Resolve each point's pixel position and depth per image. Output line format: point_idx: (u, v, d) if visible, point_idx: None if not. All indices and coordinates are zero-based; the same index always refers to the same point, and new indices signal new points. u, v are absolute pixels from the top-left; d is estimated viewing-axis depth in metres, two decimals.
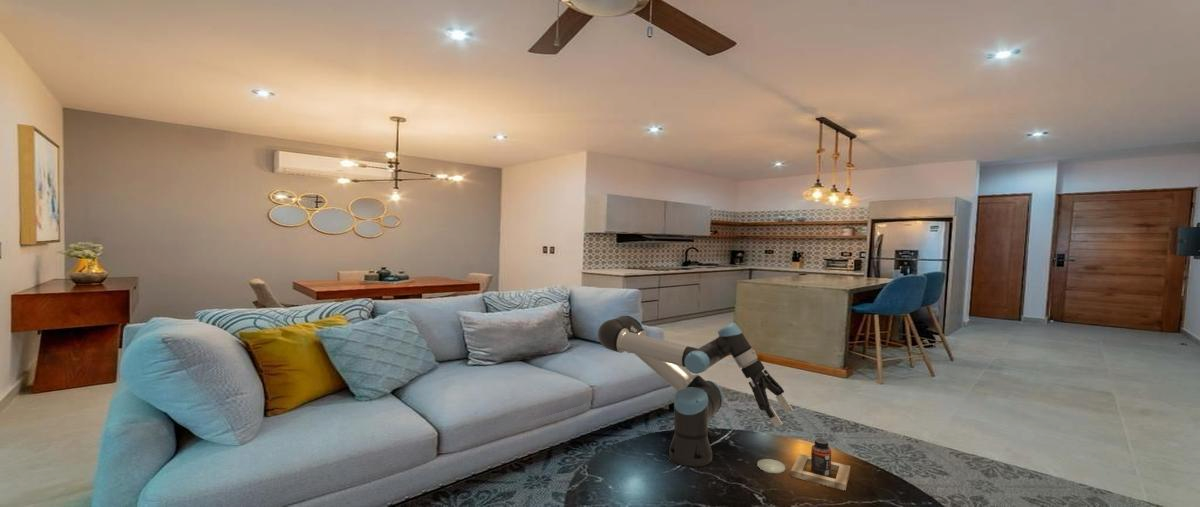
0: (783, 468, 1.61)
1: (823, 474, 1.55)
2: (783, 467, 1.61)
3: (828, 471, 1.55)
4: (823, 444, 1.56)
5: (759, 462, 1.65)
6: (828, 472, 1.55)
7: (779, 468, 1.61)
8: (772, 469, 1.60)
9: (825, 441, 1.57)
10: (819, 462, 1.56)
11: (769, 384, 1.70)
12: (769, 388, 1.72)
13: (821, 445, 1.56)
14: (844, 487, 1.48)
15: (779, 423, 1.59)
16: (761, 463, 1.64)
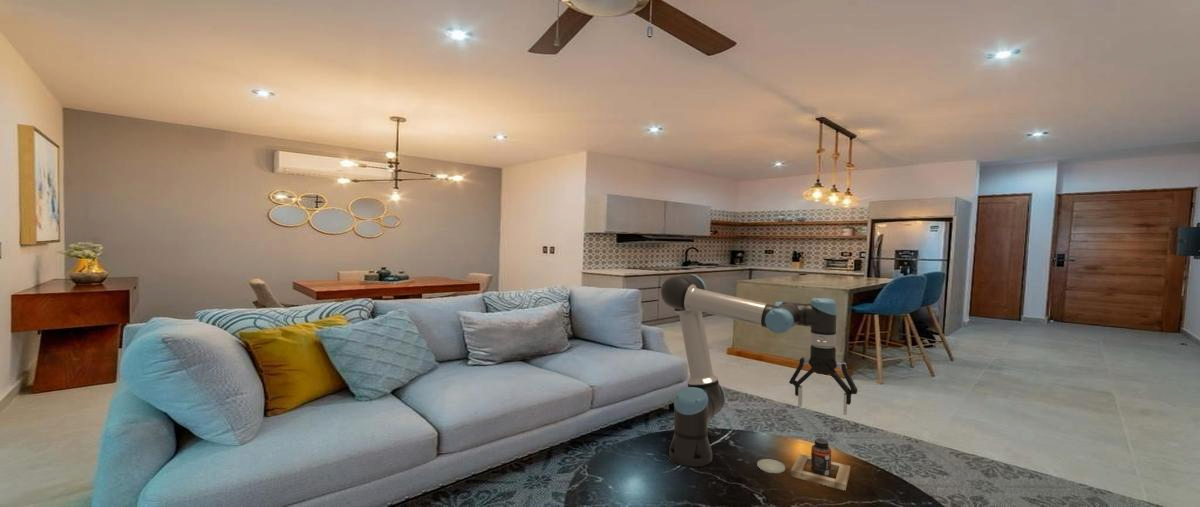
0: (783, 468, 1.61)
1: (823, 474, 1.55)
2: (783, 467, 1.61)
3: (828, 471, 1.55)
4: (823, 444, 1.56)
5: (759, 462, 1.65)
6: (828, 472, 1.55)
7: (779, 468, 1.61)
8: (772, 469, 1.60)
9: (825, 441, 1.57)
10: (819, 462, 1.56)
11: None
12: None
13: (821, 445, 1.56)
14: (844, 487, 1.48)
15: None
16: (761, 463, 1.64)
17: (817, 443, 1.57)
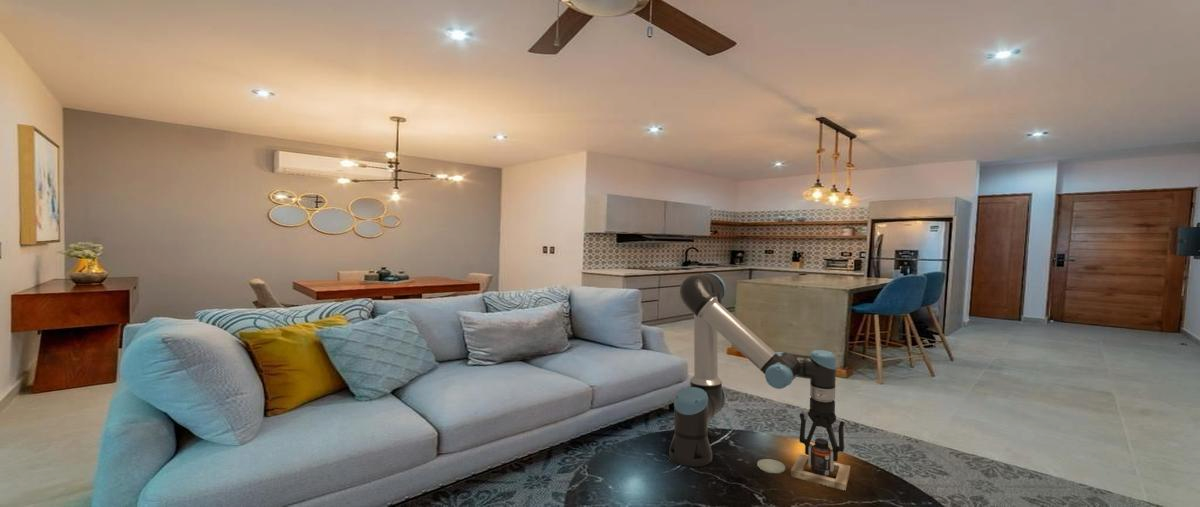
0: (783, 468, 1.61)
1: (823, 474, 1.55)
2: (783, 467, 1.61)
3: (828, 471, 1.55)
4: (823, 444, 1.56)
5: (759, 462, 1.65)
6: (828, 472, 1.55)
7: (779, 468, 1.61)
8: (772, 469, 1.60)
9: (825, 441, 1.57)
10: (819, 462, 1.56)
11: None
12: None
13: (821, 445, 1.56)
14: (844, 487, 1.48)
15: None
16: (761, 463, 1.64)
17: (817, 443, 1.57)
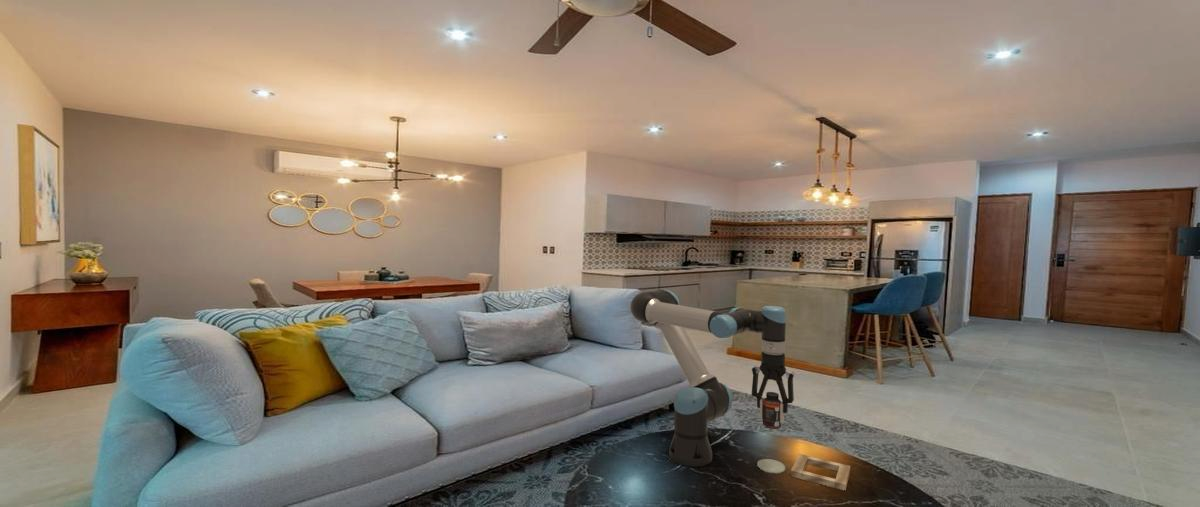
0: (783, 468, 1.61)
1: (773, 425, 1.59)
2: (783, 467, 1.61)
3: (778, 422, 1.60)
4: (773, 396, 1.60)
5: (759, 462, 1.65)
6: (778, 423, 1.60)
7: (779, 468, 1.61)
8: (772, 469, 1.60)
9: (776, 394, 1.61)
10: (769, 413, 1.60)
11: None
12: None
13: (771, 397, 1.60)
14: (844, 487, 1.48)
15: None
16: (761, 463, 1.64)
17: (768, 395, 1.61)
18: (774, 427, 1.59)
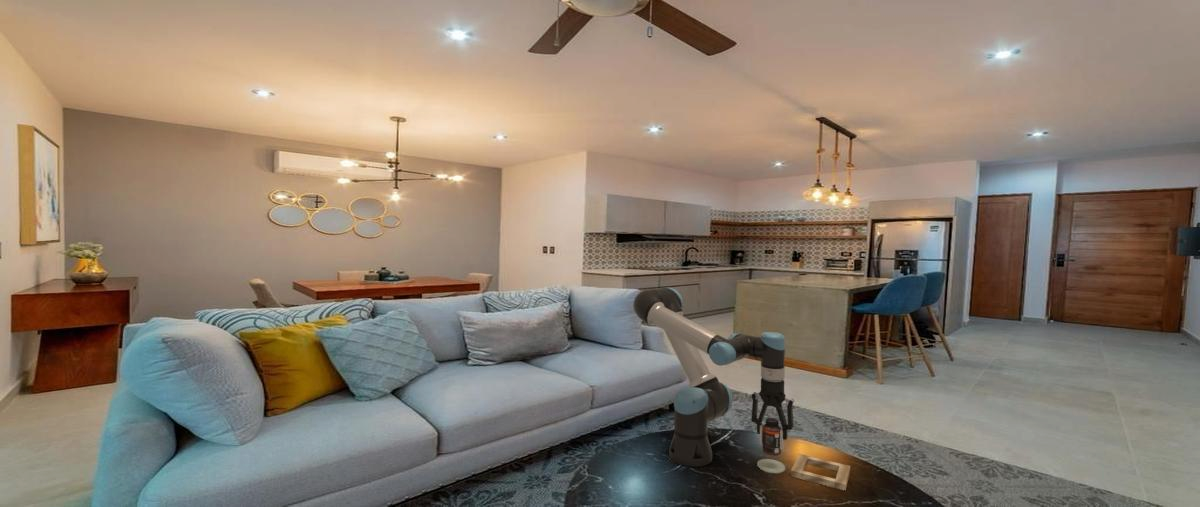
0: (783, 468, 1.61)
1: (773, 452, 1.60)
2: (783, 467, 1.61)
3: (778, 449, 1.60)
4: (773, 423, 1.60)
5: (759, 462, 1.65)
6: (778, 450, 1.60)
7: (779, 468, 1.61)
8: (772, 469, 1.60)
9: (775, 420, 1.62)
10: (769, 440, 1.60)
11: None
12: None
13: (771, 423, 1.60)
14: (844, 487, 1.48)
15: None
16: (761, 463, 1.64)
17: (768, 422, 1.61)
18: (774, 454, 1.60)
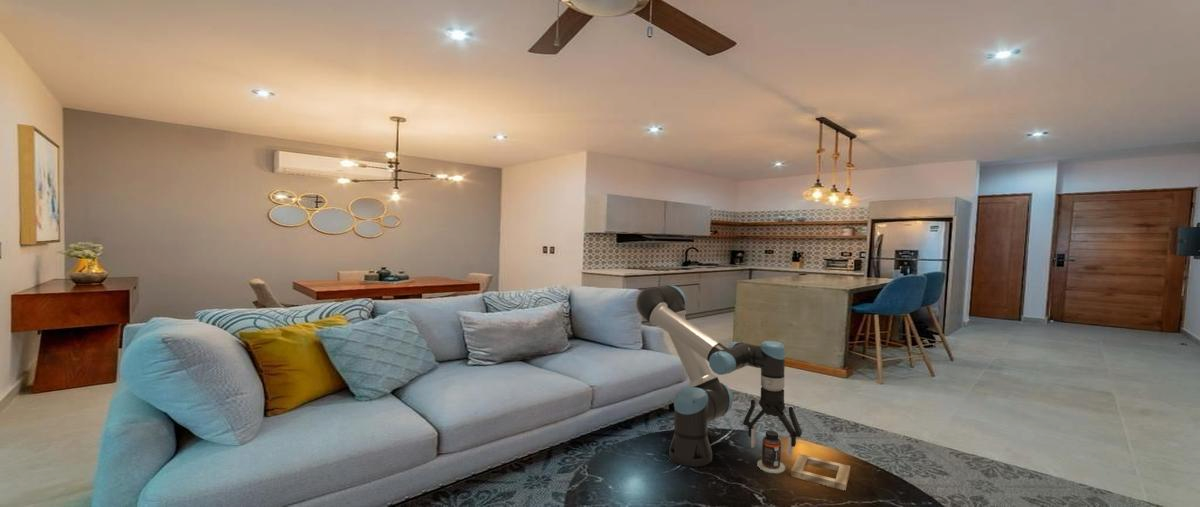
0: (783, 468, 1.61)
1: (772, 465, 1.60)
2: (783, 467, 1.61)
3: (777, 462, 1.60)
4: (773, 436, 1.61)
5: (759, 462, 1.65)
6: (777, 463, 1.60)
7: (779, 468, 1.61)
8: (772, 469, 1.60)
9: (775, 433, 1.62)
10: (768, 453, 1.60)
11: None
12: None
13: (771, 436, 1.61)
14: (844, 487, 1.48)
15: None
16: (761, 463, 1.64)
17: (767, 435, 1.62)
18: (773, 467, 1.60)
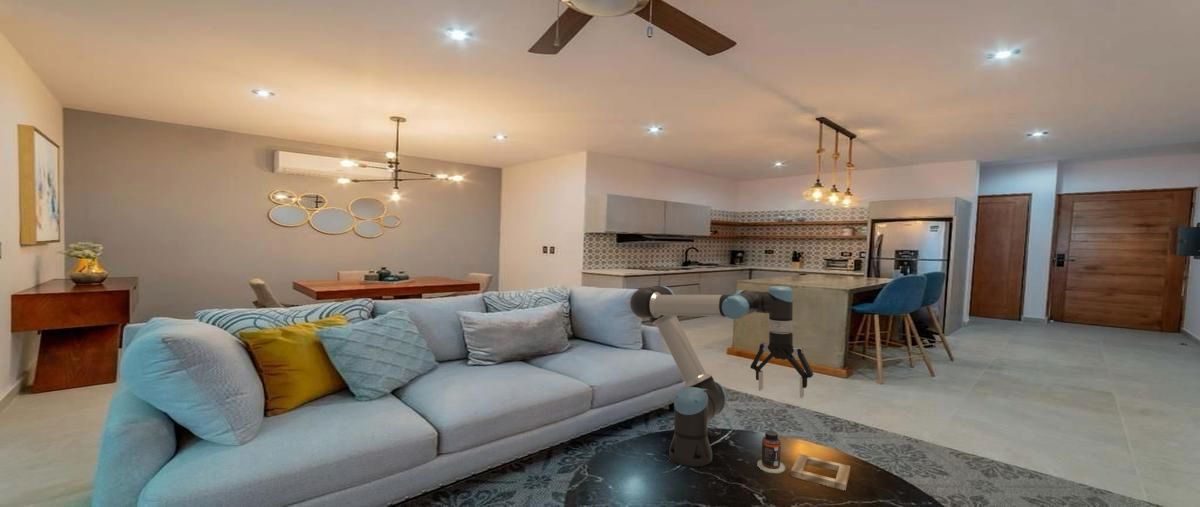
0: (783, 468, 1.61)
1: (772, 465, 1.60)
2: (783, 467, 1.61)
3: (777, 462, 1.60)
4: (772, 436, 1.61)
5: (759, 462, 1.65)
6: (777, 463, 1.60)
7: (779, 468, 1.61)
8: (772, 469, 1.60)
9: (775, 433, 1.62)
10: (768, 453, 1.60)
11: None
12: None
13: (770, 436, 1.61)
14: (844, 487, 1.48)
15: None
16: (761, 463, 1.64)
17: (767, 435, 1.62)
18: (773, 467, 1.60)
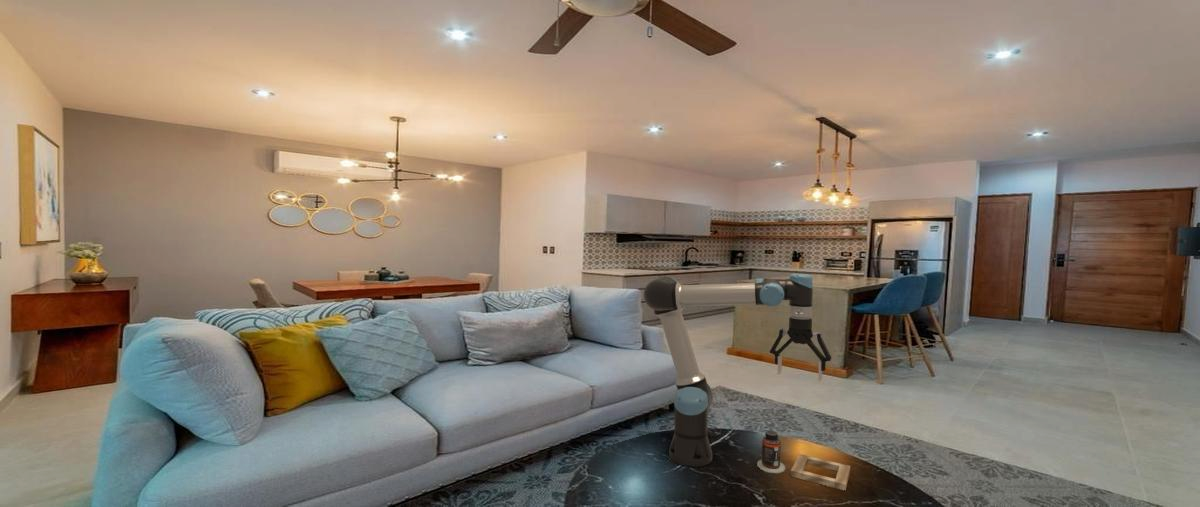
0: (783, 468, 1.61)
1: (772, 465, 1.60)
2: (783, 467, 1.61)
3: (777, 462, 1.60)
4: (772, 436, 1.61)
5: (759, 462, 1.65)
6: (777, 463, 1.60)
7: (779, 468, 1.61)
8: (772, 469, 1.60)
9: (775, 433, 1.62)
10: (768, 453, 1.60)
11: None
12: None
13: (770, 436, 1.61)
14: (844, 487, 1.48)
15: None
16: (761, 463, 1.64)
17: (767, 435, 1.62)
18: (773, 467, 1.60)
